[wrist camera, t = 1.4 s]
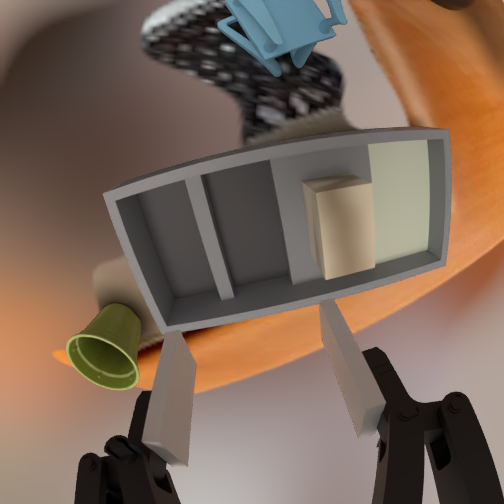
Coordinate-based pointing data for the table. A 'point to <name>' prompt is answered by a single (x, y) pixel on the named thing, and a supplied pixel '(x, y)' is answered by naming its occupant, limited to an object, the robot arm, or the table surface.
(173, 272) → the tray
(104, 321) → the plant pot
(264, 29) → the chair
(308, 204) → the birch block
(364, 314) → the table surface
